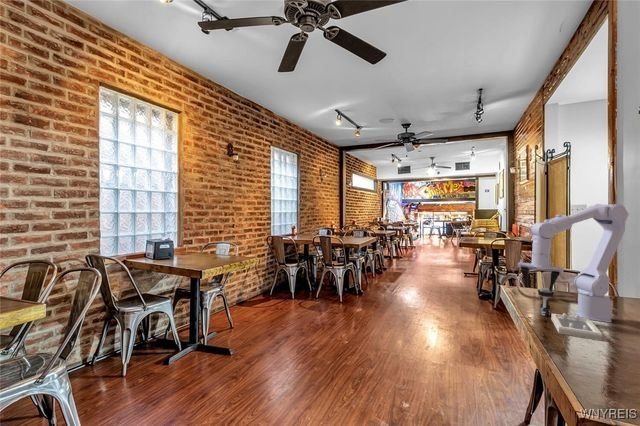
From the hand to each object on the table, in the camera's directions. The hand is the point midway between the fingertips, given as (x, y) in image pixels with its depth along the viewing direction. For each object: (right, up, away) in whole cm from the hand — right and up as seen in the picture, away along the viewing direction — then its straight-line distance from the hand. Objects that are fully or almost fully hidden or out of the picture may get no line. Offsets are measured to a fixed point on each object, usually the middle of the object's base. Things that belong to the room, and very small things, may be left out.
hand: (538, 288), depth 125 cm
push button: (+3, -11, +1) cm, 11 cm away
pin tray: (+3, -11, -13) cm, 17 cm away
